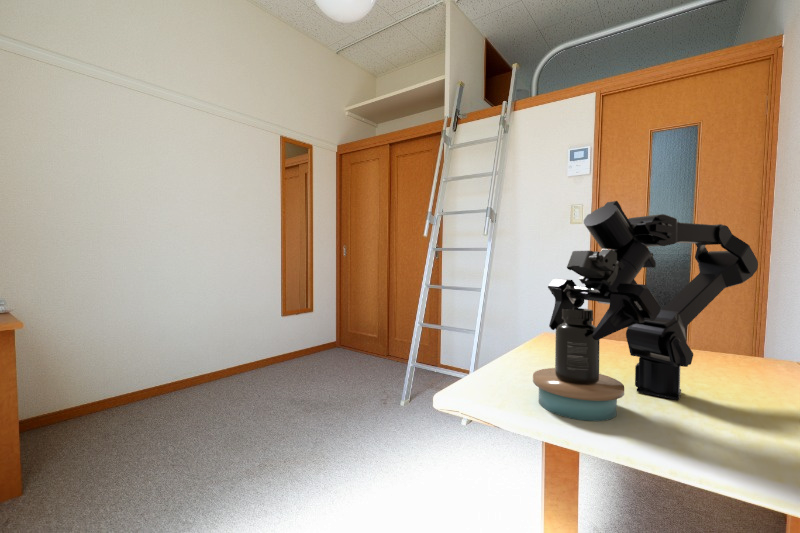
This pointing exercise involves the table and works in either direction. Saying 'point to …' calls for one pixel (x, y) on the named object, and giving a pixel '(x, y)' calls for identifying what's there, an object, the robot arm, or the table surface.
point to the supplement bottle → (577, 347)
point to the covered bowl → (578, 396)
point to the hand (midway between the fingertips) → (571, 332)
